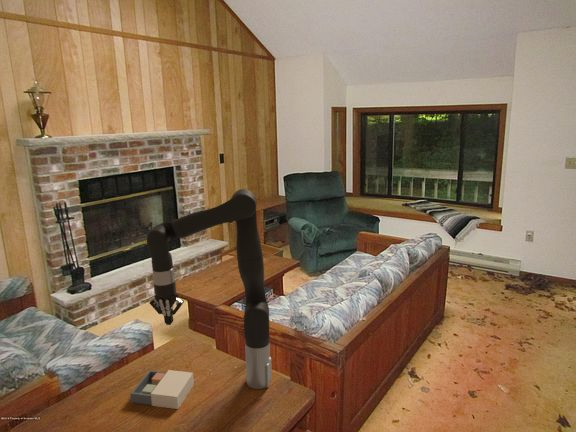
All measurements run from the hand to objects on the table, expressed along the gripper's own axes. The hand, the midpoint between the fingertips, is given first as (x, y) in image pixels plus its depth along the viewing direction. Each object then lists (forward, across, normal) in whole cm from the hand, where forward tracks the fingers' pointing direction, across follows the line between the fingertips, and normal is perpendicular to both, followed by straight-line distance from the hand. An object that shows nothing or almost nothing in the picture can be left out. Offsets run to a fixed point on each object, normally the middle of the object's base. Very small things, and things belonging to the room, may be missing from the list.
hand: (169, 323), depth 155 cm
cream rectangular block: (+26, -2, +6) cm, 26 cm away
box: (+26, +7, +6) cm, 27 cm away
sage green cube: (+23, +4, +9) cm, 25 cm away
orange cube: (+23, +4, +2) cm, 24 cm away
